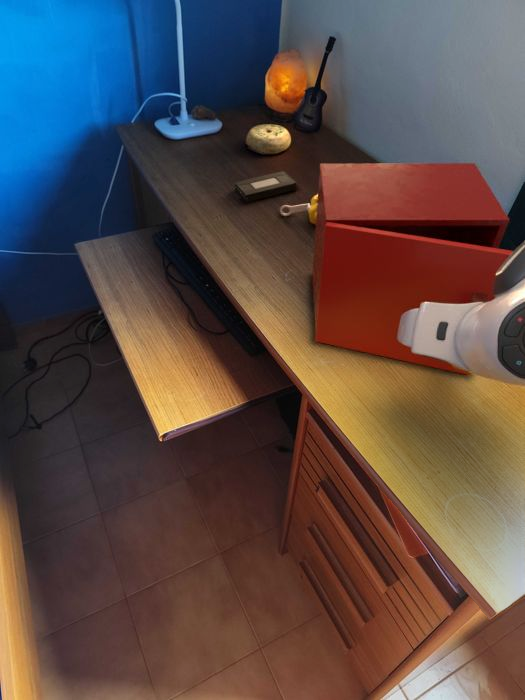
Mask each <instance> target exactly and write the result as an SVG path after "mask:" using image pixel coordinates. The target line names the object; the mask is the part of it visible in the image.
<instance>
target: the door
mask: <svg viewBox="0 0 525 700" xmlns="http://www.w3.org/2000/svg"><path fill="white" fill-rule="evenodd" d="M514 251H515V250H510V249H504V248H503V249H502V248H498V249H497V248H491V247H484V246H478V245H471V244H465V243H459V242H452V241H446V240H439V239H433V238H427V237H420V236H414V235H408V234H401V233H395V232H388V231H382V230H376V229H369V228H363V227H356V226H350V225H344V224H337V223H331V222H327V223H326V225H325V237H324V248H323V260H322V271H321V283H320V295H319V306H318V318H317V329H316V331H315V342H317V343H321V344H326V345H329V346H330V345H331V346H335V347H339V348H344V349H349V350H353V351H357V352H363V353H366V354H372V355H376V356H381V357H385V358H390V359H394V360H398V361H403V362H407V363H413V364H416V365H421V366H426V367H430V368H433V369H434V368H435V369H440V370H443V371H449V372H452V373H457V374H462V375H468V374H469V372H468V371H464V370H462V369H460V368H458V367H456V366H454V365H452V364H450V363H448V362H447V363H446V362H443V361H440V360H437V359H433V358H429V357H425V356H421V355H419V354H414V353H412V352H411V347H408V346H405V345H403V344H402V343H400V342H399V341H398V340H397V335H398V329H399V324H400V320H401V316H402V315H403V314H404V313H405V312H406V311H408V310H411V309H416V308H419V307H420V304H421V303H423V302H440V303H457V304H468V303H475V302H483V303H486V302H489V301H492V300H493V299H495V296H494V295H493V286H494V280H495V276H496V273H497V271H498V270H499V268H500V267H501V266H502V264H503V263H504V262H505V261H506V259H507V258H508V257H509V256H510V255H511V254H512V253H513V252H514Z"/></svg>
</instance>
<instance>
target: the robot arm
mask: <svg viewBox="0 0 525 700" xmlns="http://www.w3.org/2000/svg"><path fill="white" fill-rule="evenodd" d="M513 251H514V252H513V253H512V254H511V255H510V256H509V257H508V258H507V259H506V261H505V262H504V263H503V264H502V266H501V267H500V268H499V270H498V271H497V273H496V276H495V280H494V286H493V295H494V296H495V299H493V300H492V301H489V302H486V303H483V302H475V303H468V304H457V303H440V302H423V303H421V304H420V307H419V308H416V309H411V310H408V311H406V312H405V313H404V314H403V315H402V316H401V320H400V324H399V329H398V335H397V340H398V341H399V342H400V343H402V344H403V345H405V346H408V347H411V352H412V353H414V354H419V355H421V356H425V357H429V358H433V359H437V360H440V361H443V362H446V363H447V362H448V363H450V364H452V365H454V366H456V367H458V368H460V369H462V370H464V371H468V373H470V374H472V375H475V376H477V377H481V378H484V379H489V380H491V381H495V382H498V383H502V384H505V385H506V384H507V385H512V386H517V387H525V240H524V241H523V242H522V243H521V244H520V245H519V246H517V247H516V248H515V249H514V250H513Z"/></svg>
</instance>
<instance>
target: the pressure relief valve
mask: <svg viewBox="0 0 525 700" xmlns="http://www.w3.org/2000/svg"><path fill="white" fill-rule="evenodd" d="M317 201H318V194H315V195H313V197H312V198H311V200H310V203H301V204H296V205H288V204H284V205H282V206H281V207H280V208H279V213H280V215H281V216H284V217H288V216H290V215H291V214H295V213H299V212H308V218H309V222H310V223H311V224H312V225H315V226H316V216H317ZM285 208H286V209H288V210H289V211H288V212H287V213H285V212H283V209H285Z"/></svg>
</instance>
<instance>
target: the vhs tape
mask: <svg viewBox="0 0 525 700" xmlns="http://www.w3.org/2000/svg"><path fill="white" fill-rule="evenodd" d="M235 186H236V187H237V188H238V189H239V190H240V191H241V192H242V194H243V195H244V196H245V197H244V196H243V195H242V194H241V193H240V191H239V190H238V189H237V188H236V187H235ZM234 189H235V191H236V192H237V194H238V195H239V196H240V197H241V198H242V199H243V200H244V202H245V203H249V202H253V201H257V200H261V199H265V198H268V197H272V196H276V195H281V194H285V193H289V192H292V191H296V190H297V182H296V181H295V180H294V178H293V177H291V176H290V175H289V174H288V173H286V172H285V171H284V170H282V171H278V172H273V173H269V174H265V175H261V176H256V177H253V178H248V179H244V180H241V181H236V182H234ZM247 198H248V199H247Z"/></svg>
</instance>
